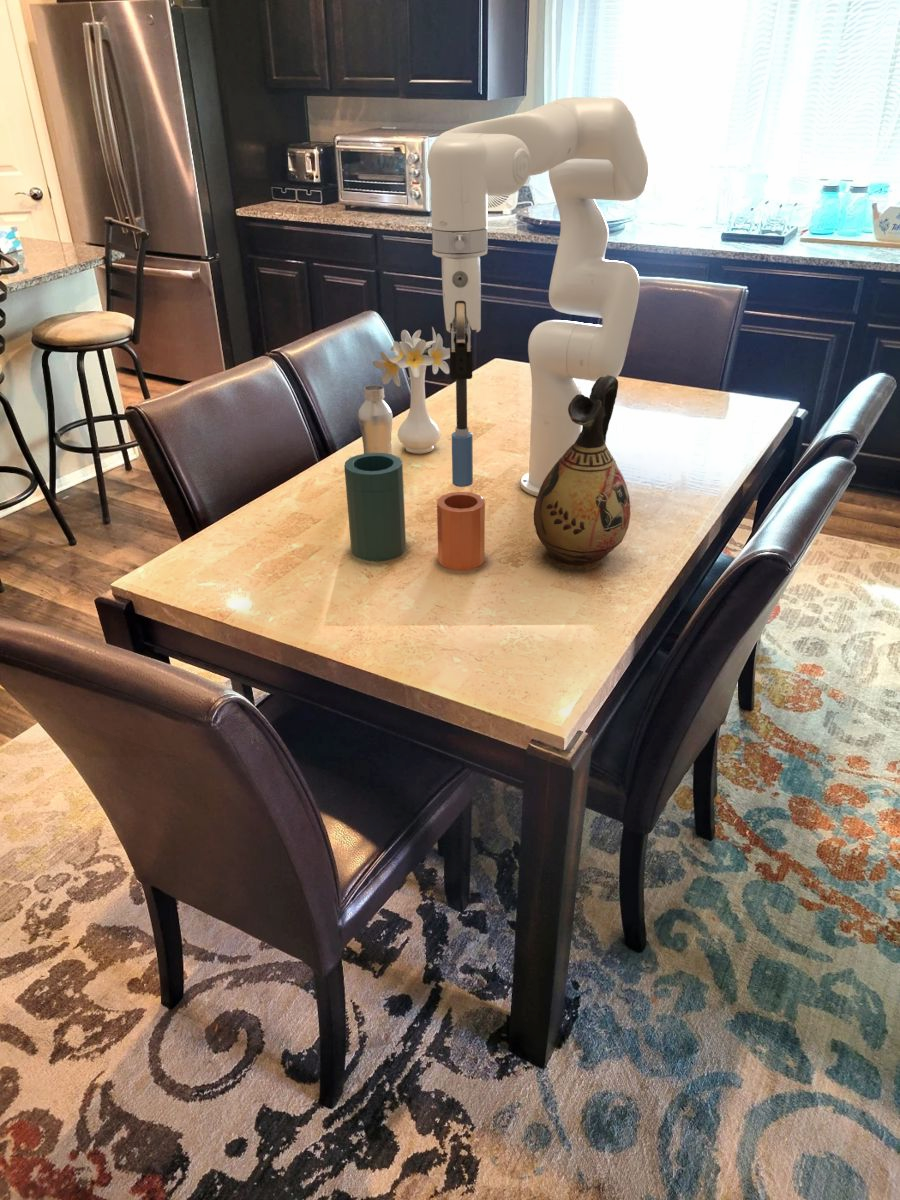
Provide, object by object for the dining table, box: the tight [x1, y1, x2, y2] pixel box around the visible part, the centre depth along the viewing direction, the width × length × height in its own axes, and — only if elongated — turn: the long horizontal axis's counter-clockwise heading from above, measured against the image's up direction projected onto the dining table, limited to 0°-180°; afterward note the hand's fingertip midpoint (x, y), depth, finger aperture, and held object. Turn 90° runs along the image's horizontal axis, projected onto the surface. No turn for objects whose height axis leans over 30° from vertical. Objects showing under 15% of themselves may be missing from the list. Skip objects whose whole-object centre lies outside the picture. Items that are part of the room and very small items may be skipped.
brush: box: [451, 379, 474, 488], centre depth 128 cm, size 3×3×22 cm
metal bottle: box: [357, 384, 394, 455], centre depth 163 cm, size 6×7×20 cm
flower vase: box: [372, 326, 450, 455], centre depth 178 cm, size 13×18×25 cm
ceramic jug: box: [533, 375, 631, 571], centre depth 135 cm, size 17×15×30 cm
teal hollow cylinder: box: [344, 453, 407, 562], centre depth 140 cm, size 9×9×16 cm
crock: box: [436, 491, 486, 571], centre depth 138 cm, size 8×8×11 cm
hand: (461, 375), depth 125 cm, fingers closed on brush, 1 cm apart
